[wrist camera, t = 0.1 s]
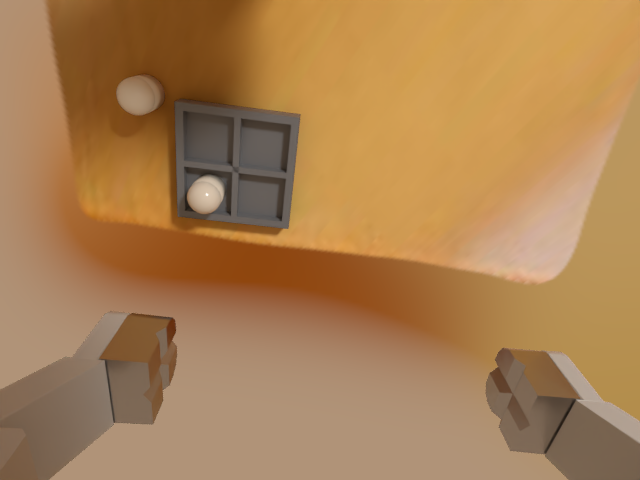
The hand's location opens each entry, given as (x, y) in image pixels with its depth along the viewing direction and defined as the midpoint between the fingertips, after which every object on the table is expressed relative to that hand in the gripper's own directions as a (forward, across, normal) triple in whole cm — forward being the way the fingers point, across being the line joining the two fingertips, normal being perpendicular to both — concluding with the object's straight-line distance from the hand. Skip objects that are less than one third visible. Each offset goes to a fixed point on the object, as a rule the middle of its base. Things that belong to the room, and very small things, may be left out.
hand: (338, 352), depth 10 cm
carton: (+48, +10, +10) cm, 50 cm away
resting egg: (+47, +14, +14) cm, 51 cm away
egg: (+48, +22, +2) cm, 53 cm away
